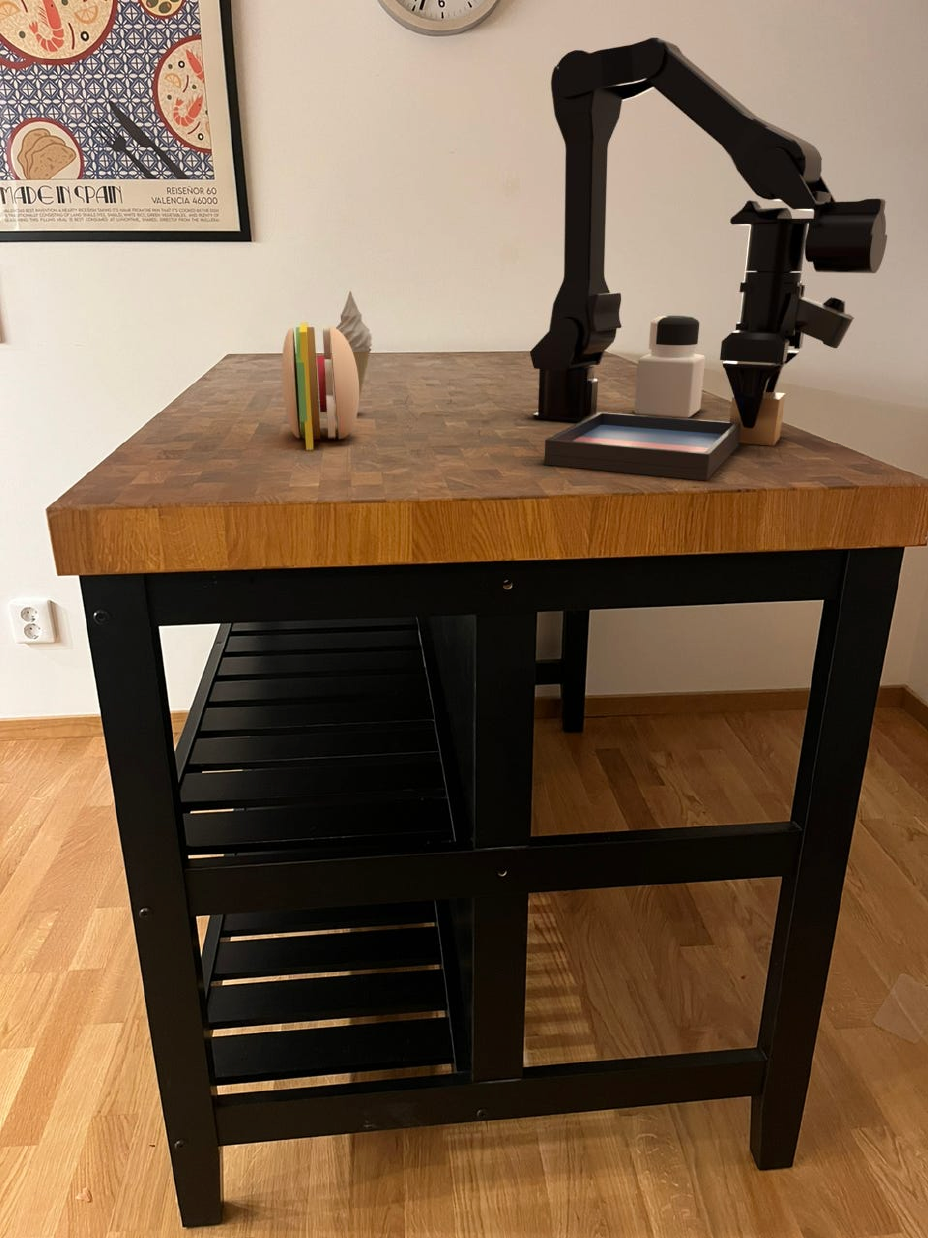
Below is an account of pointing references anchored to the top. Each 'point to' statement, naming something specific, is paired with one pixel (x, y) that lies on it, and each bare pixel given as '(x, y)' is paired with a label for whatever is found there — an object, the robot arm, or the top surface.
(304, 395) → the hamburger
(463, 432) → the top surface
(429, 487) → the top surface
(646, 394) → the white square bottle
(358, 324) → the ice cream cone
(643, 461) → the tray
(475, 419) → the top surface
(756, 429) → the brass block
